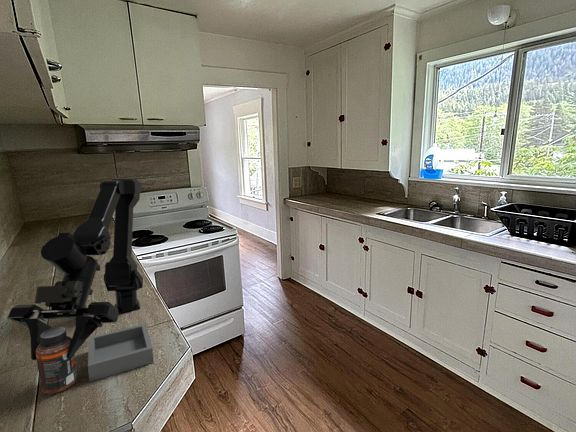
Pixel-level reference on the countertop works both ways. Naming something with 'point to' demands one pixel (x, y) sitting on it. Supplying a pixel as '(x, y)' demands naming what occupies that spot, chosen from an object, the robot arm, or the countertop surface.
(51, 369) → the supplement bottle
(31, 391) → the countertop surface
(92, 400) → the countertop surface
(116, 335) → the tray
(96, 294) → the countertop surface
